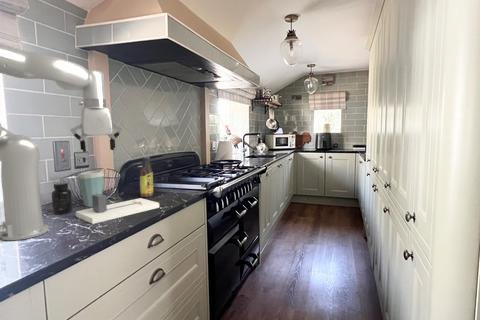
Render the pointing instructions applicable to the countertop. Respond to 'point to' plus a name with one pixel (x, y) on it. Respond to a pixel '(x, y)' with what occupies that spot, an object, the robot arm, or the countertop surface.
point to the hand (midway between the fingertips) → (98, 150)
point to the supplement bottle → (61, 199)
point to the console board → (117, 210)
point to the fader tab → (99, 202)
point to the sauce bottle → (146, 178)
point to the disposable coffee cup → (90, 185)
